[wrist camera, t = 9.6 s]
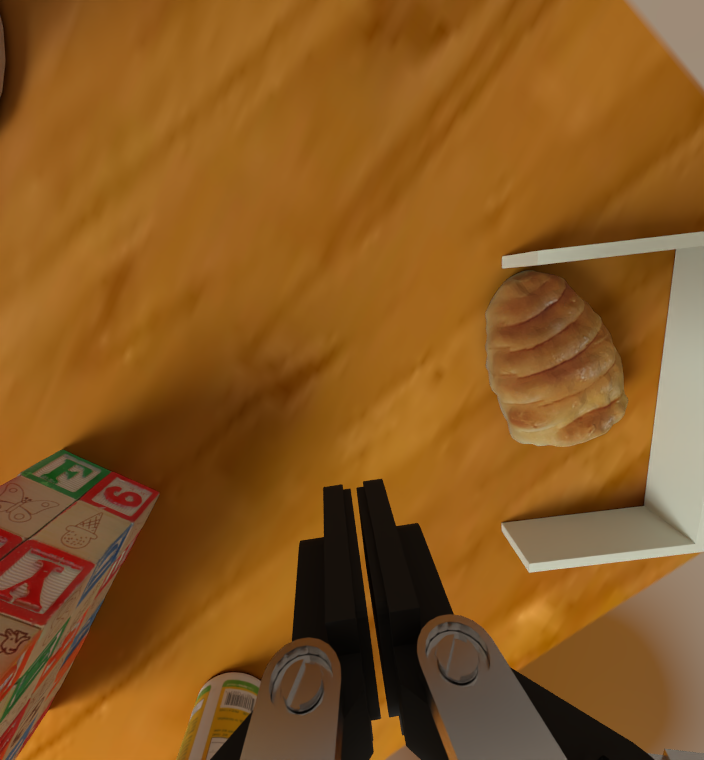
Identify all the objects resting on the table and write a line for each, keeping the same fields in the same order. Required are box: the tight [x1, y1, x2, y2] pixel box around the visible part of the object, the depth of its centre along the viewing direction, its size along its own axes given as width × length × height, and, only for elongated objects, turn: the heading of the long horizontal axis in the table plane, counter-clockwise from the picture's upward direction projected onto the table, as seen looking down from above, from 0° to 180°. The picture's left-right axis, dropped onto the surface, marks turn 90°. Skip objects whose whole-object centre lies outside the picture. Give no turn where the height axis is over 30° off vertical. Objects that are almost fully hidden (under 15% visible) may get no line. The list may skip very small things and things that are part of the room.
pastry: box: [485, 270, 628, 447], centre depth 19 cm, size 9×7×4 cm
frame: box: [502, 232, 704, 572], centre depth 19 cm, size 17×10×4 cm, turn 6°
